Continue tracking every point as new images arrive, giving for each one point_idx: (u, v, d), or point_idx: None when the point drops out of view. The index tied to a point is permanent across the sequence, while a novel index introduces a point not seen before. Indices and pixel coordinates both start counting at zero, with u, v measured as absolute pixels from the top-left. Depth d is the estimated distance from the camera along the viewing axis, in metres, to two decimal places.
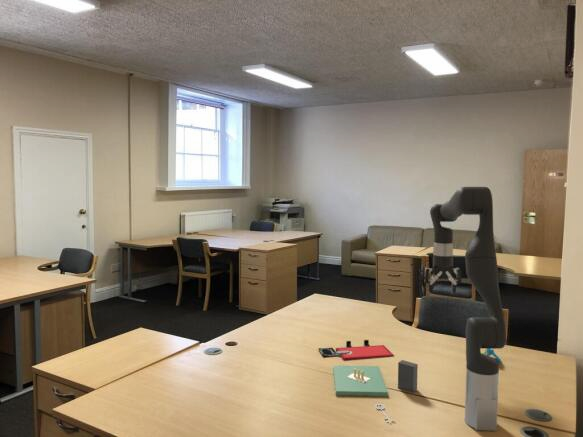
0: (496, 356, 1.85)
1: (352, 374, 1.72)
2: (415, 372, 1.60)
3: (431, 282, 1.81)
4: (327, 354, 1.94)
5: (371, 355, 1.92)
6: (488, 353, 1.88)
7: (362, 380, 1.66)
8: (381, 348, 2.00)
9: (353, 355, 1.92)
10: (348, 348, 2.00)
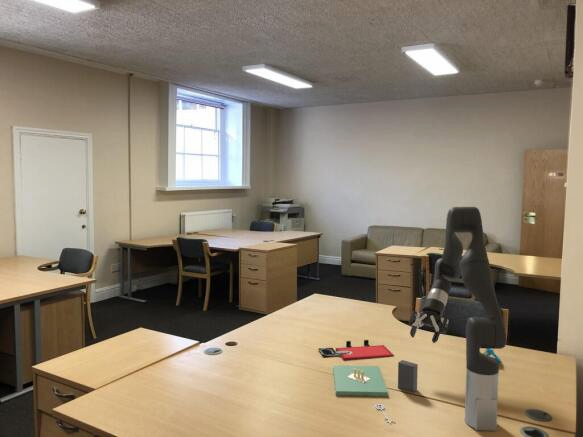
0: (496, 356, 1.85)
1: (352, 374, 1.72)
2: (415, 372, 1.60)
3: (414, 323, 1.75)
4: (327, 354, 1.94)
5: (371, 355, 1.92)
6: (488, 353, 1.88)
7: (362, 380, 1.66)
8: (381, 348, 2.00)
9: (354, 355, 1.92)
10: (348, 348, 2.00)
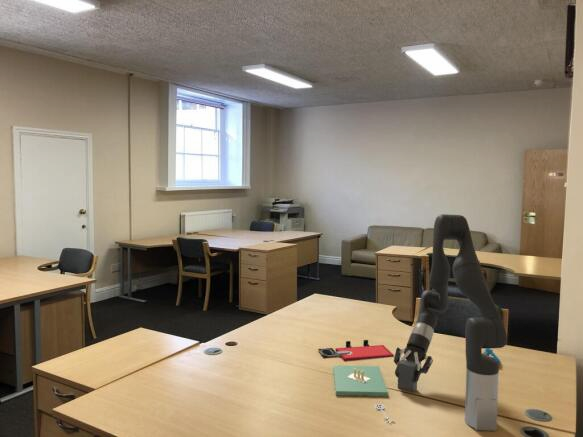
0: (494, 356, 1.85)
1: (352, 374, 1.72)
2: None
3: None
4: (327, 354, 1.93)
5: (371, 355, 1.92)
6: (487, 353, 1.88)
7: (362, 380, 1.66)
8: (380, 348, 2.00)
9: (354, 355, 1.92)
10: (348, 348, 1.99)
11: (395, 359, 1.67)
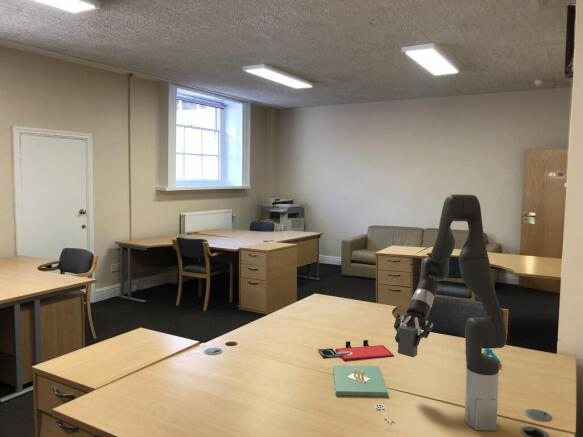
0: (494, 356, 1.85)
1: (352, 374, 1.72)
2: None
3: None
4: (327, 355, 1.93)
5: (371, 355, 1.92)
6: (486, 353, 1.88)
7: (362, 380, 1.66)
8: (380, 348, 2.00)
9: (354, 355, 1.92)
10: (348, 349, 1.99)
11: (395, 325, 1.66)
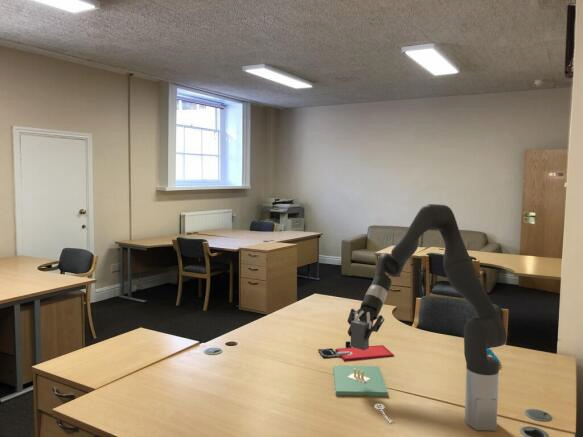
0: (493, 356, 1.85)
1: (352, 374, 1.72)
2: None
3: None
4: (327, 355, 1.93)
5: (371, 355, 1.92)
6: None
7: (362, 380, 1.66)
8: (380, 348, 2.00)
9: (354, 355, 1.92)
10: (348, 349, 1.99)
11: (349, 319, 1.72)
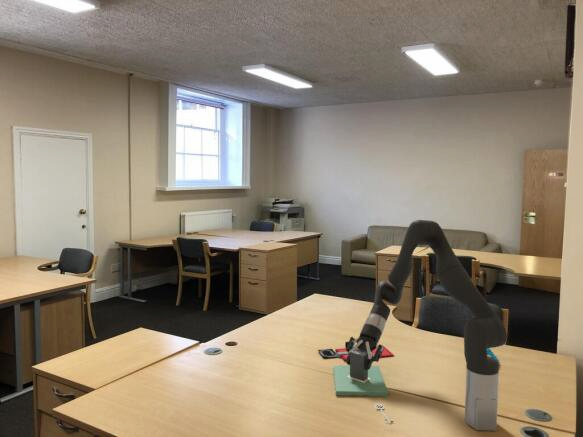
0: (492, 356, 1.85)
1: None
2: (365, 361, 1.66)
3: None
4: (327, 355, 1.92)
5: None
6: None
7: None
8: None
9: None
10: None
11: (347, 347, 1.73)
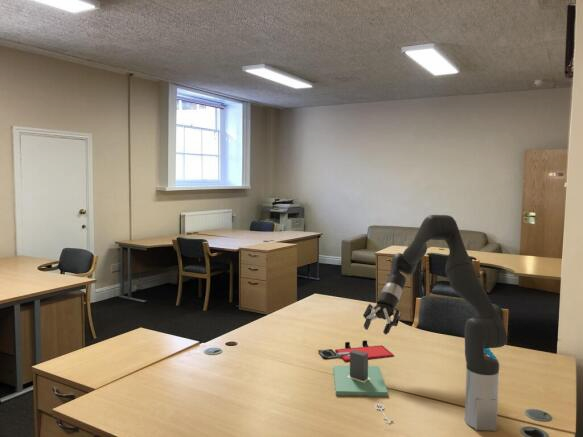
0: (491, 356, 1.86)
1: None
2: (365, 361, 1.66)
3: (368, 316, 1.81)
4: (328, 356, 1.92)
5: (372, 356, 1.92)
6: (484, 352, 1.89)
7: None
8: (380, 349, 2.00)
9: None
10: (348, 349, 1.98)
11: (365, 314, 1.82)
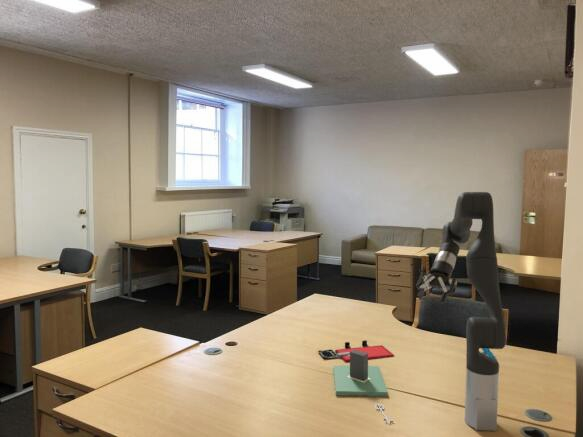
0: (490, 355, 1.86)
1: None
2: (365, 361, 1.66)
3: (421, 286, 1.71)
4: (328, 356, 1.91)
5: (372, 356, 1.92)
6: (483, 352, 1.89)
7: None
8: (380, 349, 2.00)
9: None
10: (348, 349, 1.98)
11: (417, 283, 1.73)
